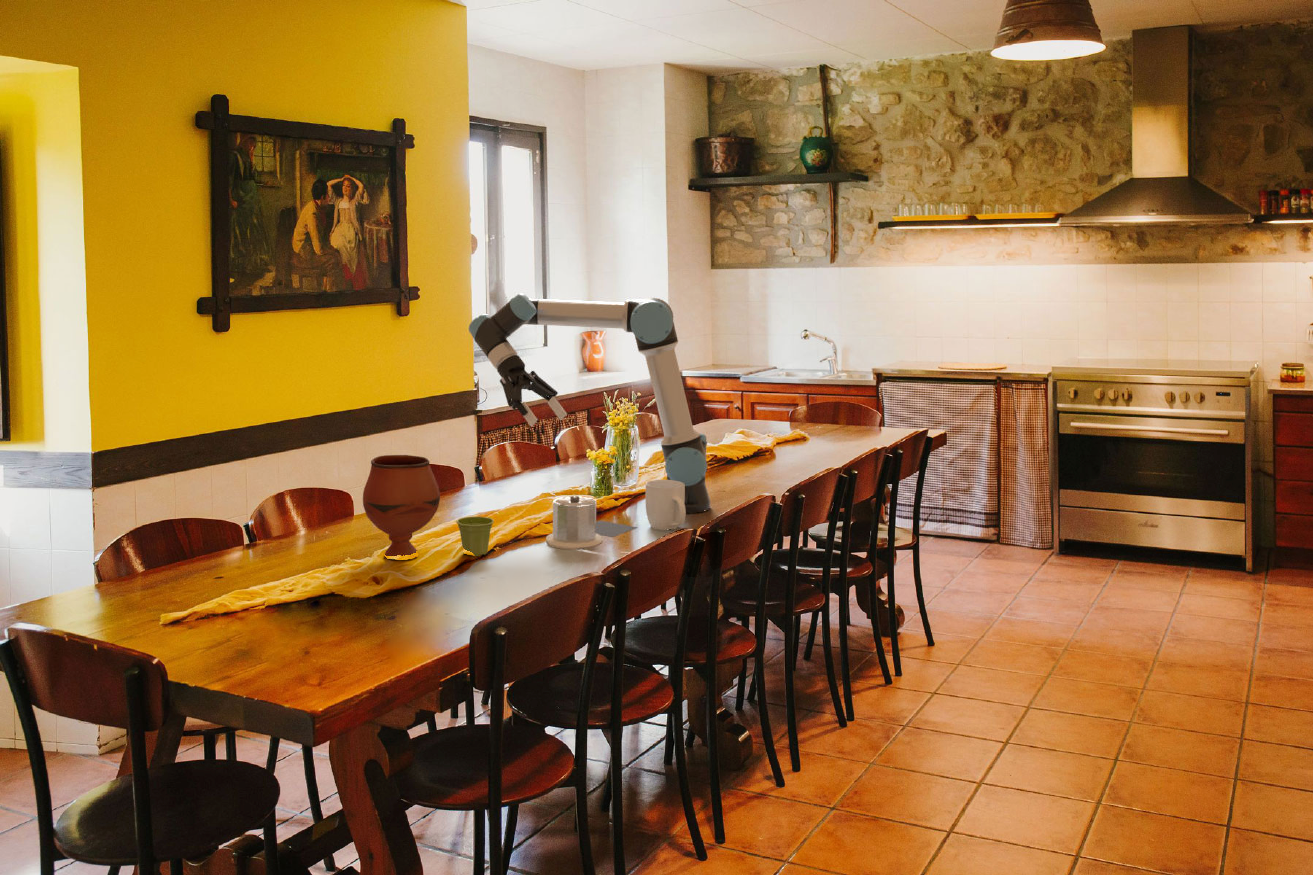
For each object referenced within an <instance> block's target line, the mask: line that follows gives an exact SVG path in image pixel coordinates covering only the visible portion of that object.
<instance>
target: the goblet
mask: <svg viewBox="0 0 1313 875" xmlns="http://www.w3.org/2000/svg"><path fill="white" fill-rule="evenodd" d="M370 464H371V465H370V472H369V475H368V476H367V480H366V483H365V486H364V489H363V493H362V504H363V505H362V506H363V509H364V512H365V515H366V518H368V520H369V521H370V522H372V524H373V525H374V526H375V527H376V528H377V529H379V530H380V531H381V532H383V533H384V534H386V535H388V540H389V541H391V544H390V545H389V546H388V548H387V549H386V550H385V552H384V554H385V555H386V556H397V555H401V556H403V555H404V556H405V555H411V554H413V553H416V551H418V549H417V548H416V547H415V546H414V545H413V544H412V542H411V541H410V540H411V539H412V538H413V533H415V532H418V531H420V530H421V529H422V528H424V527H425V526H426V525H427V524H428V523H429V522H431V520H432V519H433V518H434V517H435V515H436V513H437V512H438V509H439V506H440V500H441V493H440V489H439V486H438V483H437V480H436V477H435V475H434V473H433V471H432V468H431V466H430V464H431V463H430V460H429V459H428V458H426V457H424V456H417V455H408V454H387V455H379V456H376V457H374V458H372V459H371V461H370Z"/></svg>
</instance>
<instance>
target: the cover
mask: <svg viewBox="0 0 1313 875" xmlns="http://www.w3.org/2000/svg"><path fill="white" fill-rule="evenodd" d="M596 522H597V500H596V499H594V498H592V497H588V496H587V497H586V496H579V495H571V496H562V497H561V496H560V497H558V498H555V499H553V501H552V533H553V539H554V540H556V541H559V542H564V543H586V542H590V541H593V540H595V538H596Z"/></svg>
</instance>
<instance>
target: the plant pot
mask: <svg viewBox="0 0 1313 875" xmlns="http://www.w3.org/2000/svg"><path fill="white" fill-rule="evenodd" d="M494 521H495V520H494V519H493V518H491V517H486V516H466V517H460V518H458V519H457V520H456V524H457V526H458V527H457V528H458V529H459V534H460V540H461V547H463V548H464V549H465V550H467V551H470V552H472V553H473V554H474V555H475V556H474V557H480V556H482V555H484V556H485V555H486V554H488V549H489V542H490V535H491V530H492V526H493V524H494ZM463 548H462V549H463Z"/></svg>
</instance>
